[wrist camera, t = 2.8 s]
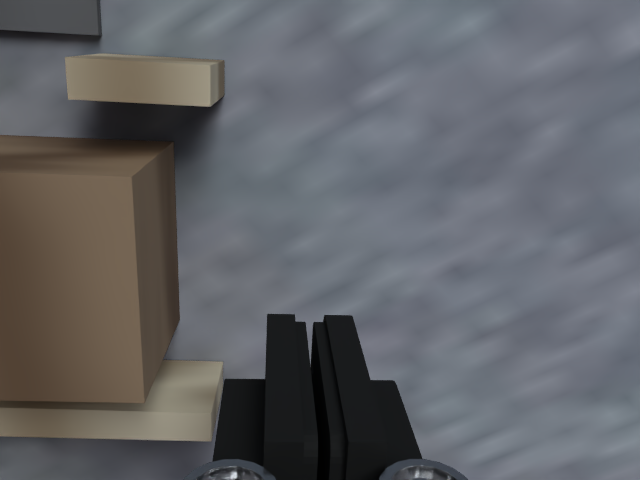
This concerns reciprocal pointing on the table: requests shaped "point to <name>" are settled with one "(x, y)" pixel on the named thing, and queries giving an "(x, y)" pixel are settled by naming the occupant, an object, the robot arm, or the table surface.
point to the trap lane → (173, 375)
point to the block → (86, 267)
